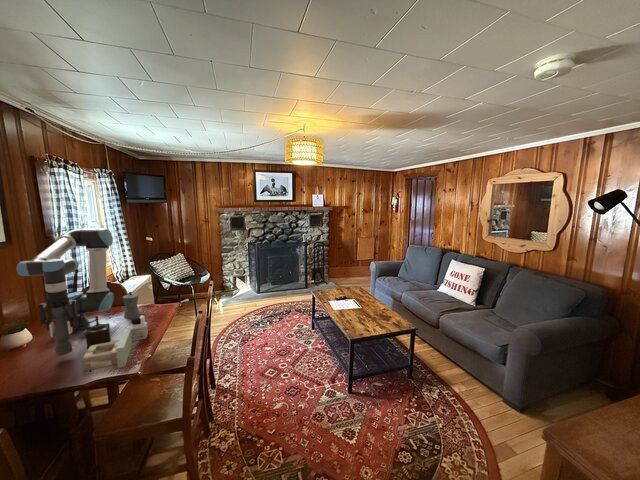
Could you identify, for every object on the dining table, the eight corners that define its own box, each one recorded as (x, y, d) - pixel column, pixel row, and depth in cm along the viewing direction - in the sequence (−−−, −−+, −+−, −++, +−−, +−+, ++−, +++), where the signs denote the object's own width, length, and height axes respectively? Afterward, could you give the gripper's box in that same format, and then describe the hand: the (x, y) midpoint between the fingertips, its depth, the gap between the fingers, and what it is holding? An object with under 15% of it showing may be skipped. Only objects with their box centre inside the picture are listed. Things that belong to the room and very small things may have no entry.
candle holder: (62, 349, 140) (57, 303, 136) (75, 348, 140) (70, 303, 137) (52, 355, 134) (46, 308, 130) (65, 355, 134) (59, 308, 131)
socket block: (91, 356, 140) (90, 345, 140) (123, 350, 147) (123, 339, 146) (83, 370, 128) (81, 359, 127) (118, 363, 135) (118, 352, 134)
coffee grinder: (111, 337, 161) (108, 308, 159) (110, 344, 153) (107, 314, 150) (76, 344, 152) (73, 314, 150) (74, 353, 143) (70, 321, 141)
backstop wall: (125, 346, 150) (124, 330, 149) (132, 345, 152) (130, 329, 151) (117, 367, 131) (116, 348, 130) (125, 366, 133) (123, 347, 131)
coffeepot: (141, 317, 190) (140, 292, 188) (125, 320, 184) (123, 295, 182) (137, 310, 201) (135, 287, 199) (121, 314, 195) (120, 290, 193)
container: (130, 341, 157) (129, 320, 155) (132, 335, 163) (131, 315, 162) (146, 338, 160) (144, 318, 159) (147, 333, 167) (146, 313, 165)
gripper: (26, 295, 125) (32, 341, 128) (79, 290, 133) (83, 333, 137) (33, 290, 131) (39, 334, 134) (83, 285, 140) (88, 327, 143)
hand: (61, 334), depth 135 cm, fingers closed on candle holder, 6 cm apart
